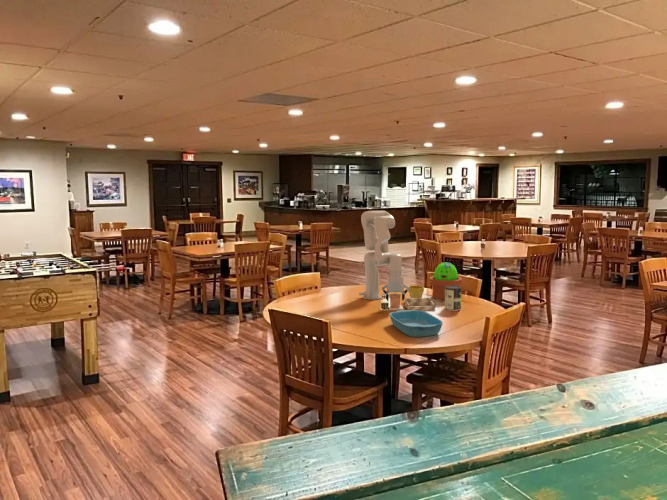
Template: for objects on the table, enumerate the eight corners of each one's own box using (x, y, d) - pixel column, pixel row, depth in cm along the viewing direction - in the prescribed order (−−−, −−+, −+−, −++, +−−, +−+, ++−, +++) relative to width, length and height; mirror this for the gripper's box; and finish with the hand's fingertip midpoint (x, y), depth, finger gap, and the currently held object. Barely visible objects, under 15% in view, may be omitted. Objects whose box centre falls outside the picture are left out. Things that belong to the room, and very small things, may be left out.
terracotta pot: (390, 308, 330) (390, 295, 329) (389, 305, 336) (389, 293, 335) (401, 308, 330) (401, 295, 329) (399, 305, 337) (399, 293, 335)
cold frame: (408, 310, 327) (408, 302, 326) (405, 305, 340) (405, 298, 339) (434, 310, 328) (435, 302, 327) (430, 305, 340) (430, 297, 339)
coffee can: (460, 307, 334) (461, 285, 332) (461, 311, 324) (461, 288, 322) (444, 306, 336) (444, 285, 334) (444, 310, 326) (444, 288, 324)
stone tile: (389, 310, 329) (389, 308, 329) (387, 306, 338) (387, 305, 337) (403, 310, 329) (403, 308, 329) (401, 306, 338) (401, 305, 338)
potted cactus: (432, 293, 376) (432, 258, 373) (463, 295, 368) (464, 259, 365) (426, 299, 356) (426, 263, 353) (459, 302, 348) (460, 264, 345)
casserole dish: (384, 322, 302) (384, 310, 301) (420, 319, 307) (420, 307, 306) (408, 341, 266) (409, 327, 265) (449, 337, 272) (449, 324, 271)
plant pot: (423, 299, 357) (423, 285, 356) (424, 303, 347) (424, 288, 345) (407, 299, 358) (407, 285, 357) (408, 302, 348) (408, 288, 346)
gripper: (382, 275, 326) (382, 302, 329) (410, 274, 327) (409, 301, 329) (381, 272, 334) (380, 299, 336) (408, 272, 334) (407, 298, 337)
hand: (395, 300), depth 333 cm, fingers open, 9 cm apart
